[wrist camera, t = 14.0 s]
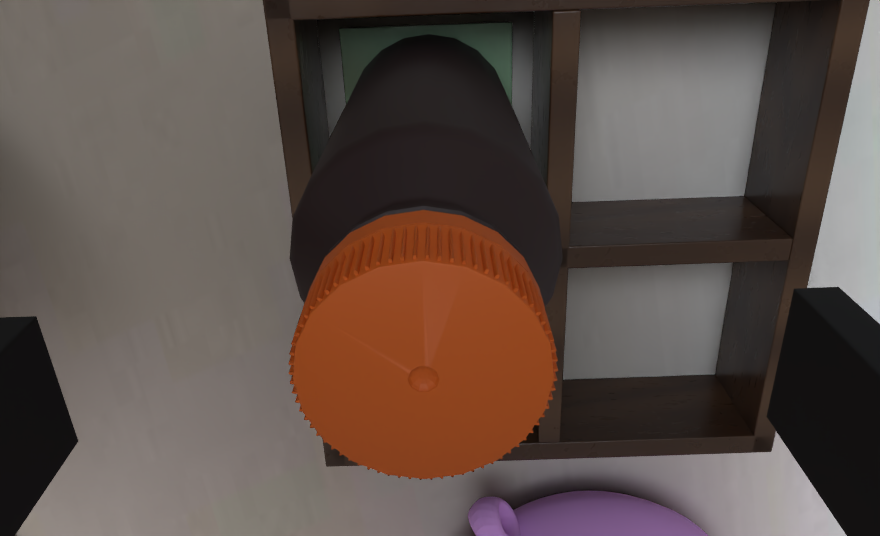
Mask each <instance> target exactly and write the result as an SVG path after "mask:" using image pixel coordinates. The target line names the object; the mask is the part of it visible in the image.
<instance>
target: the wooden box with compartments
mask: <svg viewBox="0 0 880 536" xmlns="http://www.w3.org/2000/svg"><path fill="white" fill-rule="evenodd" d="M869 1H870V0H263V5H264V13H265V20H266V27H267V34H268V42H269V49H270V56H271V64H272V71H273V78H274V86H275V93H276V100H277V108H278V115H279V122H280V130H281V137H282V144H283V152H284V159H285V166H286V174H287V181H288V189H289V196H290V203H291V211H292V218H293V215H294V213H295V211H296V208H297V206H298V204H299V202H300V200H301V197H302V195H303V193H304V191H305V188H306V186H307V184H308V182H309V180H310V177H311V175H312V173H313V171H314V169H315V167H316V165H317V163H318V161H319V159H320V157H321V155H322V153H323V151H324V149H325V147H326V145H327V143H328V141H329V132H328V122H327V113H326V103H325V94H324V85H323V75H322V66H321V56H320V47H319V37H318V28H317V20H319V19H346V18H372V17H399V16H425V15H451V14H478V13H504V12H531V11H534V37H533V82H532V126H531V152H532V154H533V157H534V159H535V161H536V164H537V166H538V168H539V171H540V173H541V175H542V178H543V180H544V182H545V185H546V187H547V189H548V191H549V194H550V196H551V198H552V201H553V203H554V205H555V208H556V210H557V212H558V215H559V223H560V234H561V245H562V257H563V258H562V262H561V266H560V270H559V274H558V278H557V282H556V285H555V289H554V293H553V296H552V298H551V299H550V301H549V302H548V304H547V305H546V307H545V311H546V314H547V318H548V321H549V325H550V328H551V331H552V335H553V338H554V343H555V347H556V350H557V351H556V356H557V359H558V361H557V362H556V364H557V368H558V371H557V372H555V373H556V377H557V381H554V385H555V389H556V390H554V391H551V393H552V397H553V399H552V400H548V404H549V409H545V411H544V415H545V417H540V418H539V425H534V427H533V433H529V434H528V435H527V437H526V439H527V440H523V441H522V442H520V443H519V447H516V446H515V447H514V448H512V449H511V453H508V452H507V453H506V454H504V455H503V456H502V459H500V458H499V459H498V460H497V461H509V460H539V459H569V458H600V457H630V456H660V455H690V454H720V453H751V452H771V451H772V446H773V442H774V437H775V432H776V430H775V428H774V427H773V425H772V424H771V422H770V421H769V419H768V418H767V417H766V416H767V412H768V407H769V403H770V398H771V393H772V389H773V384H774V379H775V375H776V370H777V365H778V361H779V356H780V351H781V347H782V342H783V337H784V333H785V328H786V323H787V319H788V314H789V309H790V305H791V300H792V296H793V291H794V289H799V288H807V285H808V281H809V276H810V272H811V267H812V262H813V258H814V253H815V249H816V244H817V240H818V235H819V230H820V226H821V221H822V217H823V212H824V208H825V203H826V198H827V194H828V189H829V185H830V180H831V175H832V171H833V166H834V162H835V157H836V153H837V148H838V143H839V139H840V134H841V130H842V125H843V121H844V116H845V111H846V107H847V102H848V98H849V93H850V88H851V84H852V79H853V75H854V70H855V66H856V61H857V56H858V52H859V47H860V43H861V38H862V34H863V29H864V24H865V20H866V15H867V11H868V6H869ZM768 2H777V4H776V10H775V16H774V22H773V28H772V34H771V40H770V46H769V53H768V59H767V65H766V71H765V77H764V83H763V89H762V95H761V101H760V107H759V113H758V120H757V126H756V132H755V138H754V144H753V150H752V156H751V162H750V168H749V174H748V180H747V187H746V193H745V197H744V196H738V197H710V198H682V199H654V200H626V201H598V202H572V183H573V163H574V143H575V123H576V103H577V83H578V63H579V43H580V23H581V10H583V9H610V8H636V7H663V6H689V5H715V4H742V3H768ZM339 34H340V45H341V56H342V67H343V77H344V88H345V99H346V104H347V102H348V100H349V98H350V96H351V94H352V92H353V90H354V88H355V86H356V84H357V82H358V80H359V78H360V76H361V74H362V71H363V69H364V68H365V67H366V66H367V65H368V64H369V63H370V62H371V61H372V60H373V58H374V57H375V56H376V55H377V54H378V53H379V52H380V51H381V50H383V49H385V48H386V47H388V46H390V45H392V44H394V43H396V42H398V41H399V40H401V39H403V38H408V37H414V36H420V35H426V34H432V35H438V36H445V37H451V38H455V39H457V40H459V41H461V42H463V43H465V44H467V45H468V46H470V47H472V48H474V49H476V50H478V51H479V52H480V54H481V55H482V56H483V57H484V58H485V59H486V60H487V61H488V62H489V63H490V64H491V65H492V66H493V67H494V68H495V70H496V72H497V74H498V76H499V79H500V81H501V83H502V85H503V87H504V89H505V92H506V94H507V96H508V98H509V101H510V103H511V105H512V22H491V23H465V24H438V25H412V26H385V27H359V28H340V29H339ZM729 262H734V266H733V272H732V278H731V284H730V290H729V296H728V302H727V308H726V314H725V320H724V327H723V333H722V339H721V345H720V351H719V357H718V363H717V369H716V375H696V376H667V377H637V378H608V379H578V380H563V363H564V343H565V323H566V303H567V283H568V268H587V267H615V266H644V265H672V264H701V263H729ZM304 304H305V303H304ZM323 445H324V454H325V461H326V466H327V467H328V466H358V463H356V462H353V461H352V460H350V461H349V460H348V459H349V458H347V457H346V456H345V455H340V452H339V451H338V450H337V449H331V447H332V446H331V445H330V444H328V443H327V442H326V443H324V440H323Z"/></svg>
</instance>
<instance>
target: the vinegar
mask: <svg viewBox="0 0 880 536" xmlns="http://www.w3.org/2000/svg"><path fill="white" fill-rule="evenodd" d="M562 258H563V257H562V245H561V234H560V223H559V215H558V212H557V210H556V208H555V205H554V203H553V201H552V198H551V196H550V194H549V191H548V189H547V187H546V185H545V182H544V180H543V178H542V175H541V173H540V171H539V168H538V166H537V164H536V161H535V159H534V157H533V154H532V152H531V150H530V147H529V145H528V143H527V140H526V138H525V136H524V133H523V131H522V129H521V126H520V124H519V122H518V119H517V117H516V115H515V112H514V110H513V108H512V105H511V103H510V101H509V98H508V96H507V94H506V92H505V89H504V87H503V85H502V83H501V81H500V79H499V76H498V74H497V72H496V70H495V68H494V67H493V66H492V65H491V64H490V63H489V62H488V61H487V60H486V59H485V58H484V57H483V56H482V55H481V54H480V52H479V51H478V50H476V49H474V48H472V47H470V46H468V45H467V44H465V43H463V42H461V41H459V40H457V39H455V38H451V37H445V36H438V35H432V34H426V35H420V36H414V37H408V38H403V39H401V40H399V41H398V42H396V43H394V44H392V45H390V46H388V47H386V48H385V49H383V50H381V51H380V52H379V53H378V54H377V55H376V56H375V57H374V58H373V60H372V61H371V62H370V63H369V64H368V65H367V66H366V67H365V68H364V69H363V71H362V74H361V76H360V78H359V80H358V82H357V84H356V86H355V88H354V90H353V92H352V94H351V96H350V98H349V100H348V102H347V104H346V106H345V108H344V110H343V112H342V114H341V116H340V118H339V120H338V122H337V124H336V126H335V129H334V131H333V133H332V135H331V137H330V139H329V141H328V143H327V145H326V147H325V149H324V151H323V153H322V155H321V157H320V159H319V161H318V163H317V165H316V167H315V169H314V171H313V173H312V175H311V177H310V180H309V182H308V184H307V186H306V188H305V191H304V193H303V195H302V197H301V200H300V202H299V204H298V206H297V208H296V211H295V213H294V215H293V221H292V235H291V249H290V261H291V265H292V269H293V272H294V276H295V279H296V283H297V287H298V290H299V294H300V297H301V299H302V300H303V302H304V303H305V304H304V306H303V310H302V313H301V316H300V319H299V322H298V325H297V328H296V331H295V333H294V337H293V340H292V343H291V344H292V347H291V350H290V353H289V354H290V355H291V358H290V361H289V365H291V368H290V371H289V374H290V375H292V378H291V381H290V384H294V388H293V391H292V393H294V394H297V397H296V401H295V402H296V403H300V405H301V406H300V410H299V411H301V412H302V411H303V413H304V414H305V418H304V420H309V421H310V422H311V424H310V428H315V429H316V430H317V434H316V435H317V436H319V435H320V436H321V437H322V439H323V440H324V443H326V442H327V443H328V444H330V445H331V446H332V447H331V449H337V450H338V451H339V452H340V455H345V456H346V457H347V458H349V459H348V460H349V461H350V460H352V461H353V462H356V463H358V466H359V465H364V466H366V467H367V469H368V470H369V469H370V468H372V469H374V470H377V472H378V473H380V472H382V473H385V474H387V475H388V476H389V475H396V476H398V478H400V477H401V476H405V477H409V479H411V477H413V478H419V479H420V480H421V479H427V478H430V479H431V480H432V478H435V477H440V478H441V479H443V476H451V477H453V476H454V475H459V474H462V475H464V473H466V472H469V471H472V472H474V469H476V468H479V467H481V468H484V465H486V464H489V463H491V464H493V462H494V461H497V460H498V459H499V458H500V459H502V456H503V455H504V454H506V453H507V452H508V453H511V449H512V448H514V447H515V446H516V447H519V443H520V442H522V441H523V440H527V439H526V437H527V435H528V434H529V433H533V427H534V425H539V418H540V417H545V415H544V411H545V409H549V404H548V400H552V399H553V397H552V393H551V391H554V390H556V389H555V385H554V381H557V377H556V373H555V372H557V371H558V368H557V364H556V362H557V361H558V359H557V356H556V351H557V350H556V347H555V343H554V338H553V335H552V331H551V328H550V325H549V321H548V318H547V314H546V311H545V307H546V305H547V304H548V302H549V301H550V299H551V298H552V296H553V293H554V289H555V285H556V282H557V278H558V274H559V270H560V266H561V262H562Z"/></svg>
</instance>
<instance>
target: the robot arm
mask: <svg viewBox="0 0 880 536" xmlns="http://www.w3.org/2000/svg"><path fill="white" fill-rule="evenodd" d="M766 417H767V418H768V419H769V421H770V422H771V424H772V425H773V427H774V428H775V430H776V431H777V433H778V434H779V436H780V437H781V439H782V440H783V442H784V443H785V445H786V446H787V448H788V449H789V451H790V452H791V454H792V455H793V456H794V458H795V459H796V461H797V462H798V464H799V465H800V467H801V468H802V470H803V471H804V473H805V474H806V476H807V477H808V479H809V480H810V482H811V483H812V485H813V486H814V488H815V489H816V491H817V492H818V493H819V495H820V496H821V498H822V499H823V501H824V502H825V504H826V505H827V507H828V508H829V510H830V511H831V513H832V514H833V516H834V517H835V519H836V520H837V522H838V523H839V525H840V526H841V528H842V529H843V530H844V532H845V533H846V535H847V536H880V324H879V323H878V322H877V321H875V320H874V319H873V318H872V317H871V316H870V315H869V314H868V313H867V312H866V311H864V310H863V309H862V308H861V307H860V306H859V305H858V304H857V303H856V302H854V301H853V300H852V299H851V298H850V297H849V296H848V295H847V294H846V293H844V292H843V291H842V290H841V289H840V288H839V287H826V288H799V289H794V291H793V296H792V300H791V305H790V309H789V314H788V319H787V323H786V328H785V333H784V337H783V342H782V347H781V351H780V356H779V361H778V365H777V370H776V375H775V379H774V384H773V389H772V393H771V398H770V403H769V407H768V412H767V416H766ZM77 442H78V439H77V436H76V433H75V430H74V427H73V424H72V421H71V418H70V415H69V412H68V409H67V406H66V403H65V400H64V397H63V394H62V391H61V388H60V385H59V383H58V380H57V377H56V374H55V371H54V368H53V365H52V362H51V359H50V356H49V353H48V350H47V347H46V344H45V341H44V338H43V335H42V332H41V329H40V326H39V323H38V320H37V317H36V316H33V317H6V318H0V536H15V534H16V533H17V531H18V530H19V528H20V527H21V525H22V524H23V522H24V521H25V519H26V518H27V516H28V515H29V513H30V512H31V510H32V509H33V508H34V506H35V505H36V503H37V502H38V500H39V499H40V497H41V496H42V494H43V493H44V491H45V490H46V488H47V487H48V485H49V484H50V482H51V481H52V479H53V478H54V476H55V475H56V473H57V472H58V470H59V469H60V467H61V466H62V464H63V463H64V462H65V460H66V459H67V457H68V456H69V454H70V453H71V451H72V450H73V448H74V447H75V445H76V444H77Z"/></svg>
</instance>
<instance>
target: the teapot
mask: <svg viewBox="0 0 880 536" xmlns="http://www.w3.org/2000/svg"><path fill="white" fill-rule="evenodd" d="M468 519H469V522H470V525H471V527H472V530H473V531H474V533H475V535H476V536H708V535H707V534H706V533H705V532H704V531H703V530H702V529H701V528H700V527H698V526H697V525H696V524H694V523H693V522H692V521H690V520H689V519H688V518H686V517H684V516H683V515H681V514H679V513H677V512H675V511H673V510H671V509H669V508H666V507H664V506H661V505H659V504H656V503H654V502H651V501H648V500H645V499H641V498H638V497H634V496H630V495H626V494H620V493H614V492H607V491H590V490H589V491H572V492H566V493H559V494H555V495H551V496H547V497H543V498H540V499H537V500H534V501H532V502H529V503H526V504H524V505H522V506H520V507H518V508H516V509H514V510H513V509H512V508H511V506H510V505H509V504H508V503H507V502H506V501H504V500H503V499H501V498H498V497H494V496H493V497H483V498H480V499H479V500H477V501H476V502H475V503H474V504H473V505H472V507H471V508H470V510H469V512H468Z"/></svg>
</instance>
